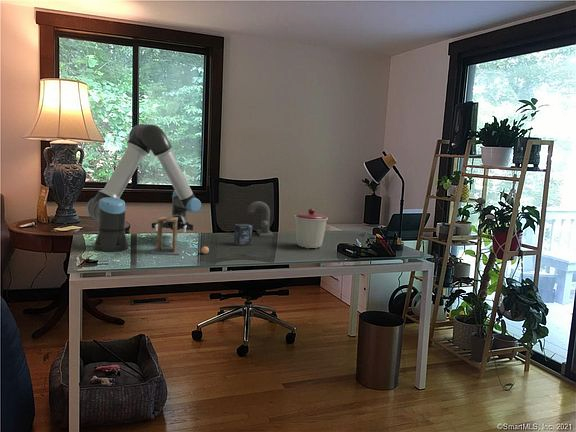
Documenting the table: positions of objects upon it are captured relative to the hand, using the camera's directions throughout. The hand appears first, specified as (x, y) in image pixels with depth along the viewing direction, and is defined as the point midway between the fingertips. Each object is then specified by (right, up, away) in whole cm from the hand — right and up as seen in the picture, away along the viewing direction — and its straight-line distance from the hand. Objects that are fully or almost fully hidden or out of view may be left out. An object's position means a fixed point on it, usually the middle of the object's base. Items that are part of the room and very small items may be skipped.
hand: (170, 229), depth 239 cm
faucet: (+39, -5, +60) cm, 72 cm away
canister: (+68, -11, +31) cm, 76 cm away
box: (+33, -9, +26) cm, 43 cm away
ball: (+17, -12, -2) cm, 21 cm away
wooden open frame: (-1, -10, -3) cm, 10 cm away
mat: (-1, -11, -3) cm, 11 cm away
